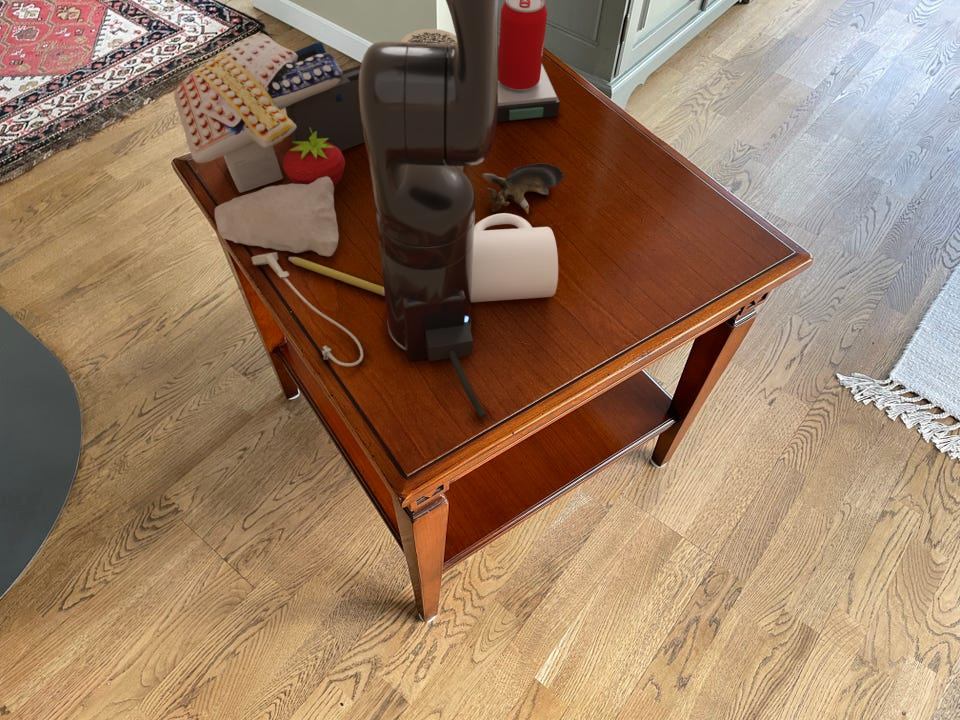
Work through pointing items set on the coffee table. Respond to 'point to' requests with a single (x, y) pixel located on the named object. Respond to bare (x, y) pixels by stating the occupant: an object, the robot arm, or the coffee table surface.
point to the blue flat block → (311, 51)
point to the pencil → (337, 275)
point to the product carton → (253, 166)
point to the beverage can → (521, 43)
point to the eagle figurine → (523, 183)
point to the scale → (528, 101)
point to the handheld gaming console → (331, 114)
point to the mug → (513, 260)
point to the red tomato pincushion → (313, 161)
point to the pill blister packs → (248, 96)
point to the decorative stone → (283, 218)
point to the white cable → (272, 261)
